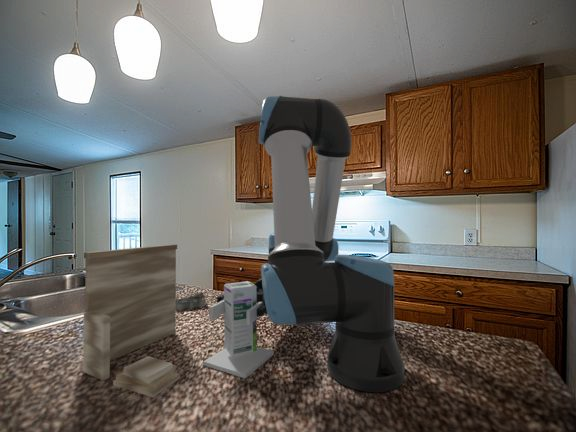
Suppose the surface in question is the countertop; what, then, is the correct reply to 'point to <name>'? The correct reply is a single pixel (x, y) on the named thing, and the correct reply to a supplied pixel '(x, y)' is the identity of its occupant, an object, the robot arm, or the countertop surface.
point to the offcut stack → (147, 376)
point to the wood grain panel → (127, 303)
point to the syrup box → (239, 318)
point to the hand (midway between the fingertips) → (229, 315)
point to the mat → (238, 362)
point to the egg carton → (191, 302)
